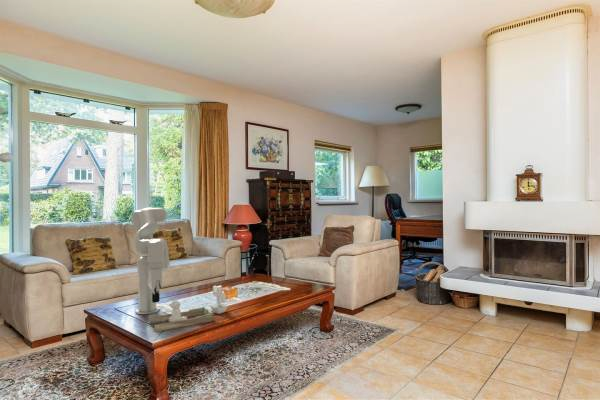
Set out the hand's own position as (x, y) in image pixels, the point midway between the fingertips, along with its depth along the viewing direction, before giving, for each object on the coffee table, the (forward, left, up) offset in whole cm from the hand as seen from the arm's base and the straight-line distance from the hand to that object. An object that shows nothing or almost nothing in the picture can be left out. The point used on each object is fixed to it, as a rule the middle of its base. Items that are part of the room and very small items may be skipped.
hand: (155, 301), depth 185 cm
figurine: (-6, +36, -13) cm, 38 cm away
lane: (-1, +13, -13) cm, 18 cm away
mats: (-1, +2, -13) cm, 13 cm away
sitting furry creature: (-1, +11, -13) cm, 17 cm away
